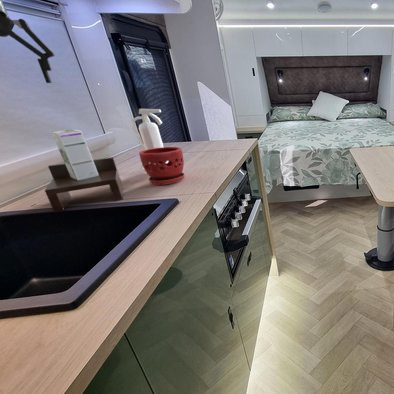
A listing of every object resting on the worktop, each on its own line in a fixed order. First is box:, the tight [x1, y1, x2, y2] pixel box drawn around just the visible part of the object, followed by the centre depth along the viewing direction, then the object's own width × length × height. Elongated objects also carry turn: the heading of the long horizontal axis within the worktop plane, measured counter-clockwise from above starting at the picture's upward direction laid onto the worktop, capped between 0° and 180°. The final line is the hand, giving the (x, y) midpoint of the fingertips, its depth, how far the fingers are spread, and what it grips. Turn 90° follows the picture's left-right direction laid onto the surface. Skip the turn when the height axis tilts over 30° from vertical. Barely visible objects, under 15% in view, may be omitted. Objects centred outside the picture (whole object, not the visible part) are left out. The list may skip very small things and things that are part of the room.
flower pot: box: [138, 146, 186, 186], centre depth 106 cm, size 13×13×12 cm
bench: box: [44, 157, 124, 214], centre depth 91 cm, size 16×14×11 cm
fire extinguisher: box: [131, 108, 169, 172], centre depth 116 cm, size 7×12×25 cm, turn 106°
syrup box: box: [51, 128, 99, 180], centre depth 89 cm, size 6×6×14 cm
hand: (16, 83), depth 83 cm, fingers open, 13 cm apart
